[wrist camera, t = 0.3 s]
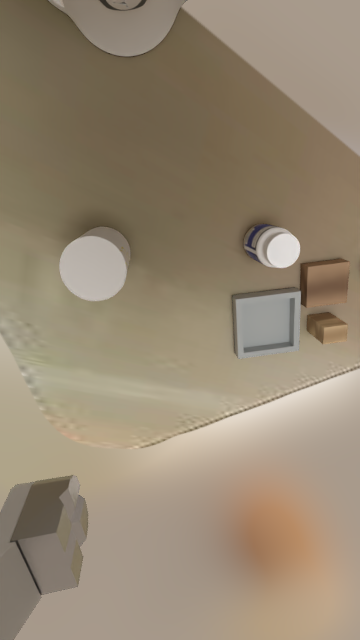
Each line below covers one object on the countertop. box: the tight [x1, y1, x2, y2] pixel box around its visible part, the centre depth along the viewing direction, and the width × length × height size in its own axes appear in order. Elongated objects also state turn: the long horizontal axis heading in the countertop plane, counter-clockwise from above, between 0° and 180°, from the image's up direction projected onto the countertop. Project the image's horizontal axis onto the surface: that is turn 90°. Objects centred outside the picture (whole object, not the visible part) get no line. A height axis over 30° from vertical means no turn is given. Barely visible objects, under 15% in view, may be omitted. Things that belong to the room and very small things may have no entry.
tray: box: [232, 287, 301, 359], centre depth 58 cm, size 11×11×2 cm
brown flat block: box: [300, 259, 350, 308], centre depth 56 cm, size 7×7×3 cm
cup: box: [59, 227, 131, 301], centre depth 47 cm, size 8×8×12 cm
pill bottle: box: [244, 224, 300, 268], centre depth 49 cm, size 6×6×10 cm
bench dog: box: [307, 312, 348, 344], centre depth 57 cm, size 3×4×6 cm
